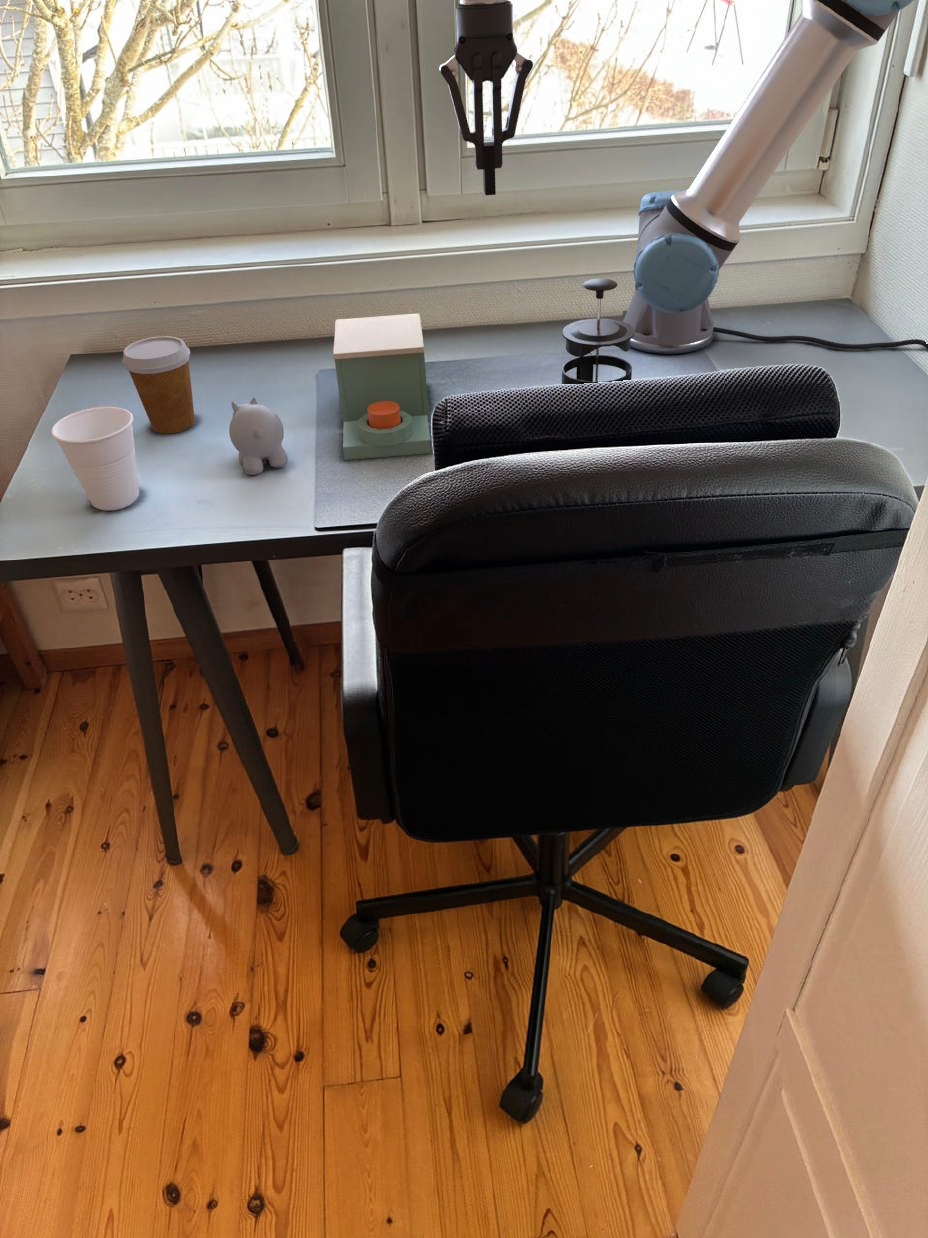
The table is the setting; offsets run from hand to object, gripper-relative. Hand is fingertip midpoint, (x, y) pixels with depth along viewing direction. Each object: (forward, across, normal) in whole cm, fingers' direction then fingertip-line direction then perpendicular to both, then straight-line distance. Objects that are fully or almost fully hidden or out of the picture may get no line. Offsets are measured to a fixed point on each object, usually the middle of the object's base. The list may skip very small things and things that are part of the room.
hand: (489, 192), depth 138 cm
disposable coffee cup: (+27, +50, +13) cm, 58 cm away
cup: (+27, +54, +35) cm, 70 cm away
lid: (+16, +18, +13) cm, 27 cm away
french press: (+27, -10, +32) cm, 43 cm away
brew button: (+23, +18, +26) cm, 39 cm away
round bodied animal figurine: (+27, +36, +26) cm, 52 cm away
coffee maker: (+26, +18, +12) cm, 34 cm away
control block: (+26, +18, +25) cm, 41 cm away
